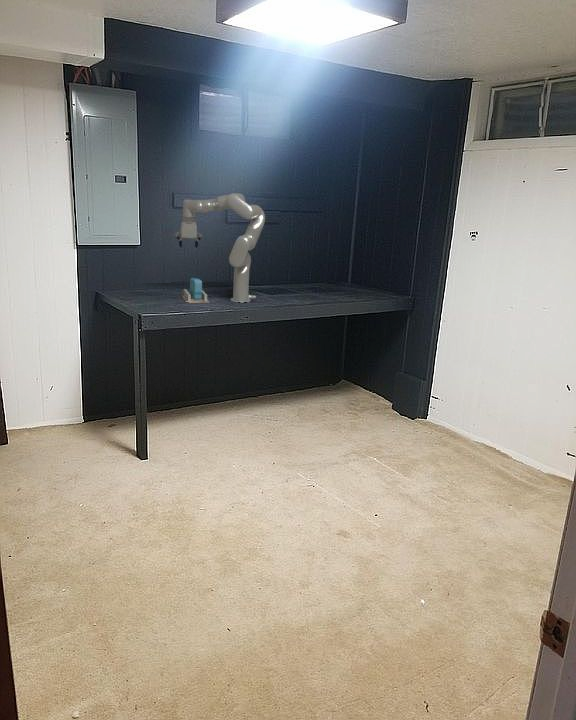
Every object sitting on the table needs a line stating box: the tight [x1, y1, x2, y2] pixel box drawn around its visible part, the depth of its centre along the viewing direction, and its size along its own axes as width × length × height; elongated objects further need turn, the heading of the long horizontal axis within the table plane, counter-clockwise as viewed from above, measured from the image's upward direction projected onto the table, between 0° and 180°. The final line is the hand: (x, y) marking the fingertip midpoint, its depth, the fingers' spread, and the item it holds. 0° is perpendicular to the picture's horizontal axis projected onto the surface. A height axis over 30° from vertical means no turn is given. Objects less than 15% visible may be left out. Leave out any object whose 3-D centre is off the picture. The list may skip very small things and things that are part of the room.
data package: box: [189, 277, 203, 300], centre depth 364 cm, size 12×4×12 cm, turn 23°
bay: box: [181, 288, 210, 304], centre depth 365 cm, size 20×14×5 cm
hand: (188, 247), depth 372 cm, fingers open, 9 cm apart
